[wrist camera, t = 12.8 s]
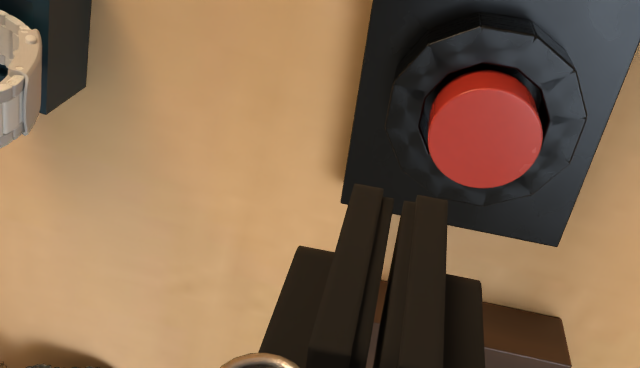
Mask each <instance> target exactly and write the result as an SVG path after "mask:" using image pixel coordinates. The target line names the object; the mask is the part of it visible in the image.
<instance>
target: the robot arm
mask: <svg viewBox="0 0 640 368" xmlns="http://www.w3.org/2000/svg"><path fill="white" fill-rule="evenodd" d="M383 192H384V189H382V188H377V187H371V186H366V185H360V184H354V186H353V190H352V193H351V197H350V201H349V204H348V208H347V211H346V215H345V218H344V222H343V225H342V229H341V232H340V236H339V240H338V243H337V247H336V250H335V252H330V251H325V250H319V249H314V248H309V247H304V246H299V247H298V248H297V250H296V253H295V255H294V258H293V261H292V263H291V266H290V269H289V272H288V274H287V277H286V280H285V282H284V285H283V288H282V290H281V293H280V296H279V298H278V301H277V304H276V307H275V309H274V312H273V315H272V317H271V320H270V323H269V325H268V328H267V331H266V334H265V336H264V339H263V342H262V344H261V347H260V350H259V352H258V353H250V354H246V355H243V356H239V357H236V358H234V359H232V360H230V361H229V362H227V363H225V364H224V365H222V366H221V367H220V368H366V364H367V358H368V352H369V347H370V341H371V335H372V329H373V323H374V317H375V311H376V305H377V299H378V293H379V287H380V281H381V276H382V270H383V264H384V258H385V252H386V246H387V240H388V234H389V228H390V222H391V216H392V210H393V204H394V199H393V198H387V197H383ZM447 217H448V201H447V200H443V199H438V198H432V197H427V196H421V195H417V197H416V201H415V202H409V201H404V203H403V207H402V212H401V217H400V222H399V227H398V233H397V238H396V243H395V248H394V253H393V258H392V263H391V268H390V273H389V278H388V283H387V288H386V293H385V298H384V303H383V308H382V314H381V319H380V325H379V331H378V337H377V344H376V350H375V356H374V363H373V368H485V352H484V329H483V307H482V288H481V283H480V281H479V280H474V279H468V278H463V277H458V276H453V275H448V274H446V250H447Z"/></svg>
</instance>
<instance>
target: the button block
mask: <svg viewBox="0 0 640 368" xmlns="http://www.w3.org/2000/svg"><path fill="white" fill-rule="evenodd" d="M639 42H640V0H373V3H372V9H371V15H370V22H369V28H368V34H367V40H366V46H365V53H364V59H363V65H362V71H361V78H360V84H359V90H358V96H357V103H356V109H355V115H354V121H353V127H352V134H351V140H350V146H349V152H348V159H347V165H346V171H345V177H344V183H343V190H342V196H341V203H342V204H347V205H348V204H349V201H350V197H351V193H352V190H353V186H354V184H360V185H366V186H371V187H377V188H382V189H384V192H383V197H387V198H393V199H394V204H393V210H392V214H396V215H401V212H402V207H403V203H404V201H409V202H415V201H416V197H417V195H421V196H427V197H432V198H438V199H443V200H447V201H448V217H447V225H450V226H455V227H460V228H465V229H470V230H475V231H480V232H485V233H490V234H495V235H500V236H505V237H510V238H515V239H520V240H524V241H529V242H534V243H539V244H544V245H549V246H554V247H558V244H559V242H560V239H561V237H562V234H563V232H564V229H565V227H566V224H567V222H568V219H569V217H570V214H571V212H572V209H573V207H574V204H575V202H576V199H577V197H578V194H579V192H580V189H581V187H582V184H583V182H584V179H585V177H586V174H587V172H588V169H589V167H590V164H591V162H592V159H593V157H594V155H595V152H596V150H597V147H598V145H599V142H600V140H601V137H602V135H603V132H604V130H605V127H606V125H607V122H608V120H609V117H610V115H611V112H612V110H613V107H614V105H615V102H616V100H617V97H618V95H619V92H620V90H621V87H622V85H623V82H624V80H625V77H626V75H627V72H628V70H629V67H630V65H631V62H632V60H633V57H634V55H635V52H636V50H637V47H638V45H639ZM477 70H494V71H499V72H503V73H506V74H508V75H511V76H512V77H514V78H516V79H517V80H519V81H520V82H521V83H522V84H524V85H525V86H526V88H527V89H528V90H529V91H530V93H531V95H532V97H533V99H534V101H535V104H536V107H537V111H538V114H539V118H540V121H541V125H542V130H543V140H542V146H541V150H540V152H539V155H538V157H537V159H536V160H535V162H534V163H533V165H532V166H531V167H530V168H529V169H528V170H527V171H526V172H525V173H524V174H523V175H522V176H520V177H519V178H517V179H516V180H514V181H512V182H510V183H507V184H505V185H502V186H498V187H493V188H473V187H468V186H464V185H462V184H459V183H457V182H455V181H453V180H451V179H450V178H448V177H447V176H445V175H444V174H443V173H442V172H441V171H440V170H439V169H438V168H437V166H436V165H435V163H434V162H433V160H432V158H431V155H430V152H429V149H428V127H429V116H430V110H431V107H432V104H433V101H434V99H435V97H436V96H437V94H438V93H439V92H440V90H441V89H442V88H443V87H444V86H445V85H446V84H447V83H449V82H450V81H451V80H453V79H454V78H456V77H458V76H460V75H462V74H465V73H468V72H472V71H477Z"/></svg>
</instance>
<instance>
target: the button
mask: <svg viewBox="0 0 640 368" xmlns="http://www.w3.org/2000/svg"><path fill="white" fill-rule="evenodd" d="M542 140H543V130H542V125H541V121H540V118H539V114H538V111H537V107H536V104H535V101H534V99H533V97H532V95H531V93H530V91H529V90H528V89H527V88H526V86H525V85H524V84H522V83H521V82H520V81H519V80H517V79H516V78H514V77H512V76H511V75H508V74H506V73H503V72H499V71H494V70H477V71H472V72H468V73H465V74H462V75H460V76H458V77H456V78H454V79H453V80H451V81H450V82H449V83H447V84H446V85H445V86H444V87H443V88H442V89H441V90H440V92H439V93H438V94H437V96H436V97H435V99H434V101H433V104H432V107H431V110H430V116H429V127H428V149H429V152H430V155H431V158H432V160H433V162H434V163H435V165H436V166H437V168H438V169H439V170H440V171H441V172H442V173H443V174H444V175H445V176H447V177H448V178H450V179H451V180H453V181H455V182H457V183H459V184H462V185H464V186H468V187H473V188H493V187H498V186H502V185H505V184H507V183H510V182H512V181H514V180H516V179H517V178H519V177H520V176H522V175H523V174H524V173H525V172H526V171H527V170H528V169H529V168H530V167H531V166H532V165H533V163H534V162H535V160H536V159H537V157H538V155H539V152H540V150H541V146H542Z"/></svg>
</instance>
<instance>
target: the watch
mask: <svg viewBox="0 0 640 368" xmlns="http://www.w3.org/2000/svg"><path fill="white" fill-rule="evenodd" d="M90 15H91V0H0V148H2V147H4V146H6V145H8V144H9V143H11V142H12V141H13V140H15V139H17V138H18V137H19V136H20V135H21V134H23V135H25V136H26V135H28V134H29V132H30V131H31V129H32V127H33V126H34V124H35V122H36V119H37V117H38V114H39V113H42V114H45V115H47V114H48V113H49V112H51V111H52V110H54V109H55V108H57V107H58V106H59V105H61V104H62V103H64V102H65V101H66V100H68V99H69V98H71V97H72V96H73V95H75V94H76V93H78V92H79V91H80V90H82V89H83V88H85V87H86V76H87V60H88V45H89V30H90Z"/></svg>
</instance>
